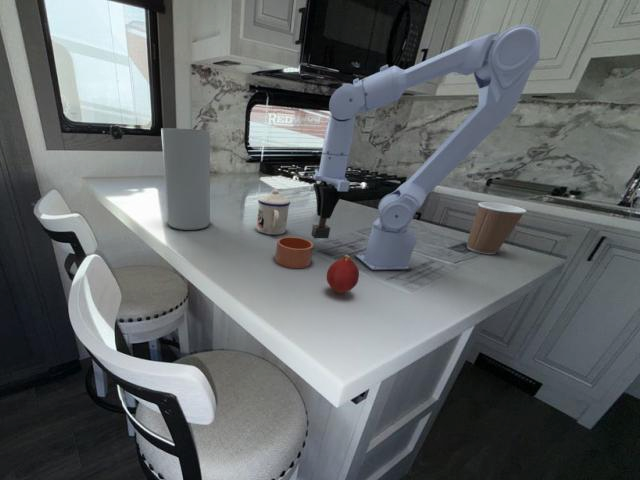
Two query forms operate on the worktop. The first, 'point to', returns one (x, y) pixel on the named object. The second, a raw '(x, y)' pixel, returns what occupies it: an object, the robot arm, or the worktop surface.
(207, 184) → the cylinder vase
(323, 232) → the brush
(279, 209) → the teacup with lid
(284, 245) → the terracotta bowl
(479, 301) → the worktop surface
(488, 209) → the coffee cup
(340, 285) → the onion
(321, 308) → the worktop surface
